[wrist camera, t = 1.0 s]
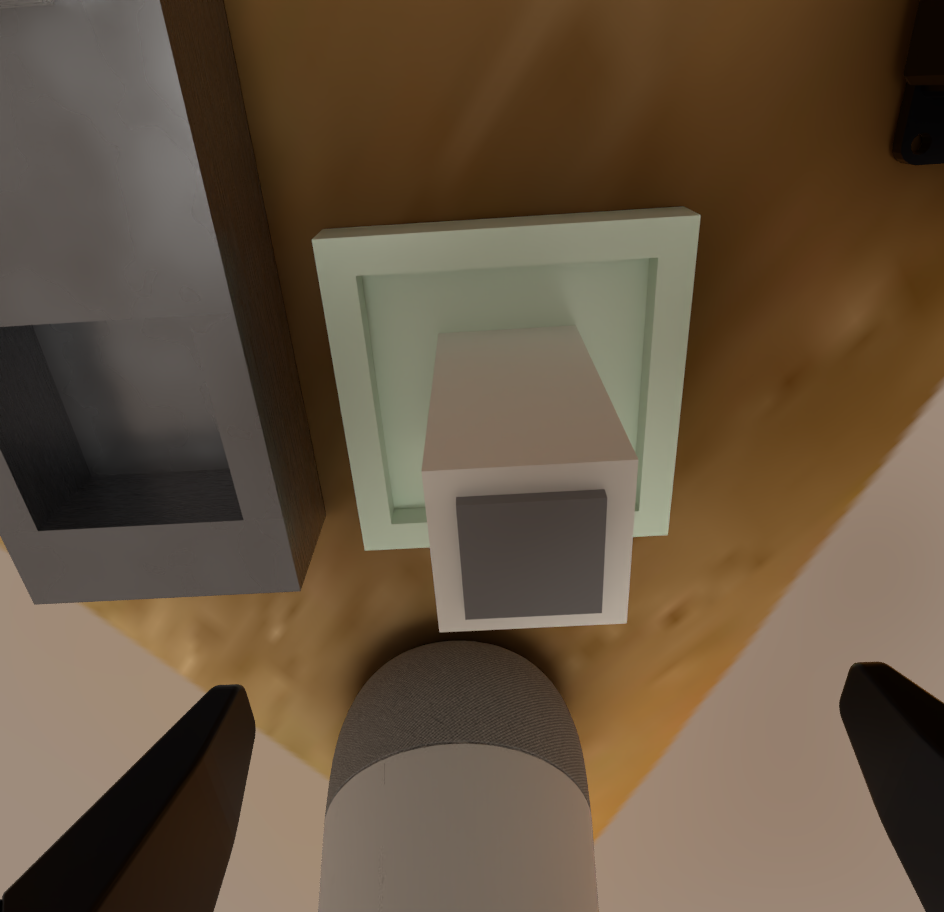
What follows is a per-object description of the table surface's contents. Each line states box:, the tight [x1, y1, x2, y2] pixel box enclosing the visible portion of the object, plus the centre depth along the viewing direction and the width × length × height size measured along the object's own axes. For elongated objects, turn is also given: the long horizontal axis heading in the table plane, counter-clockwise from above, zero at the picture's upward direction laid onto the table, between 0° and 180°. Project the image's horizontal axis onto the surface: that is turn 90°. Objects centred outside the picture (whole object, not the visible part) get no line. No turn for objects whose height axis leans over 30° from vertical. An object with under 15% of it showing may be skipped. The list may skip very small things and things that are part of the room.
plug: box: [421, 325, 638, 632], centre depth 16 cm, size 4×4×8 cm
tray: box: [312, 206, 701, 551], centre depth 20 cm, size 10×10×2 cm
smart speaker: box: [318, 641, 599, 912], centre depth 21 cm, size 10×9×14 cm
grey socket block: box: [0, 0, 326, 604], centre depth 15 cm, size 20×8×7 cm, turn 3°
